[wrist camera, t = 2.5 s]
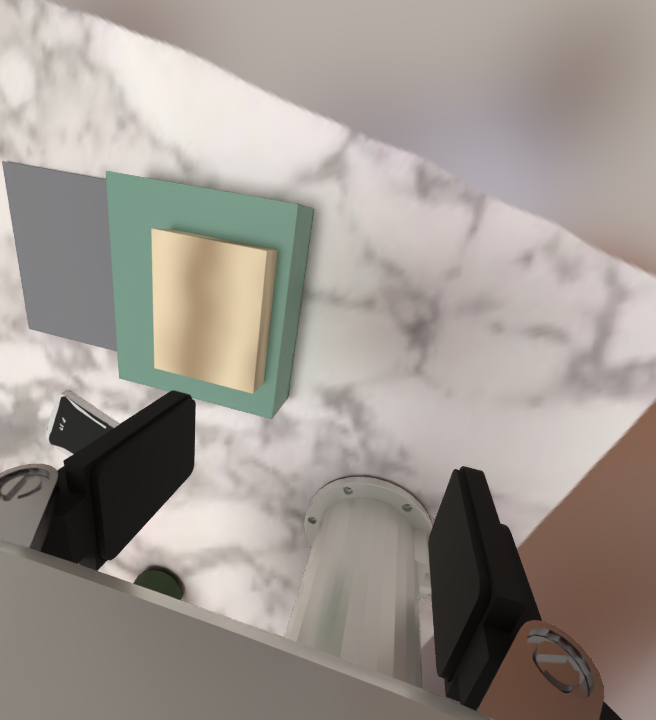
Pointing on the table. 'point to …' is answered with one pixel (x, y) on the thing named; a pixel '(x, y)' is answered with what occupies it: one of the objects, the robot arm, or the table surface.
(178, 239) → the oak tile
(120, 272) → the green flat block
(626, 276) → the table surface
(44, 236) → the rubber mat
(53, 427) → the smartphone
